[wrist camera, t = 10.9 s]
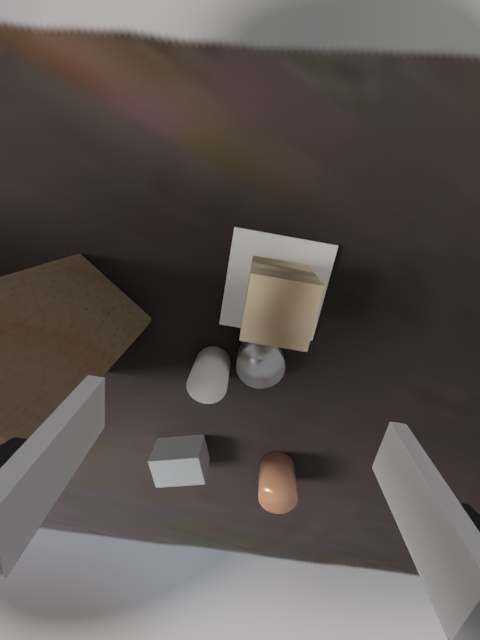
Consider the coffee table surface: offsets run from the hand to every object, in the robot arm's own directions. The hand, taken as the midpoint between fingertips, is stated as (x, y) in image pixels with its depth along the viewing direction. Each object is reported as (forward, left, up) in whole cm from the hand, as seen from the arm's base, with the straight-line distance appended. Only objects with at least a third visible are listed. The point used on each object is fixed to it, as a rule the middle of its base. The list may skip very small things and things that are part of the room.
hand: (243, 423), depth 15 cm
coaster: (+2, +2, -20) cm, 20 cm away
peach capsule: (+7, -21, -20) cm, 30 cm away
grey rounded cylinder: (-3, -8, -20) cm, 22 cm away
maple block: (+2, +2, -19) cm, 19 cm away
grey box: (-5, -21, -20) cm, 29 cm away
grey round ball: (+2, -6, -20) cm, 21 cm away
